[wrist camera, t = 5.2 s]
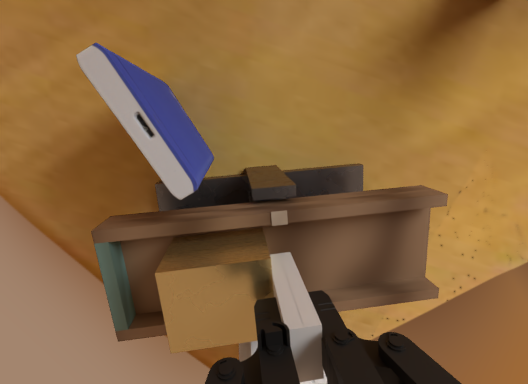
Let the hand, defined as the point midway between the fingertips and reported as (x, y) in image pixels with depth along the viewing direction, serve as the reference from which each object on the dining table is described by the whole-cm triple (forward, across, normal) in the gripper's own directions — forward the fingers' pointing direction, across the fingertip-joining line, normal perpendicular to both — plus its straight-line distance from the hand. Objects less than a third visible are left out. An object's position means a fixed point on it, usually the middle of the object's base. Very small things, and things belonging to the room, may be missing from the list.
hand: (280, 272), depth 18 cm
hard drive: (+12, -6, +10) cm, 16 cm away
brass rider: (+2, -4, 0) cm, 4 cm away
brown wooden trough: (+3, 0, 0) cm, 3 cm away
